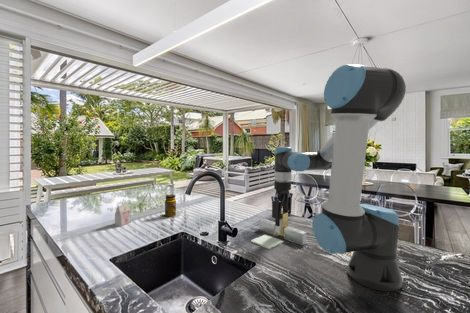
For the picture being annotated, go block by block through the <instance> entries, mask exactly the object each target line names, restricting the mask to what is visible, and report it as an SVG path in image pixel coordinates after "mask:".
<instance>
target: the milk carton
mask: <svg viewBox="0 0 470 313" xmlns="http://www.w3.org/2000/svg"><path fill="white" fill-rule="evenodd" d="M131 211H132V210H131V209H130V205H129V203H124V204H121V205H119V206H117V207H116V211H115V213H114V227H115V226H116V227H120V228H121V227H124V226H125V225H128V224H130V223H131V222H132V218H131V217H132V213H131Z"/></svg>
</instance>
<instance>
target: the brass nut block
mask: <svg viewBox="0 0 470 313" xmlns="http://www.w3.org/2000/svg"><path fill="white" fill-rule="evenodd" d="M280 219H282V225H281V234H280V233H277V232H275V234H276V235H278V236H281V237H284V230H285V228H286V227H288V226H289V217H288V212H284V211H283V210H282V211H281V218H280ZM275 230H276V225H275Z"/></svg>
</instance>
